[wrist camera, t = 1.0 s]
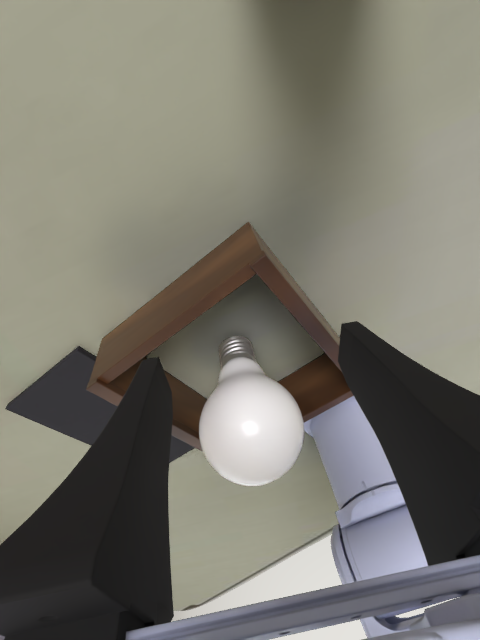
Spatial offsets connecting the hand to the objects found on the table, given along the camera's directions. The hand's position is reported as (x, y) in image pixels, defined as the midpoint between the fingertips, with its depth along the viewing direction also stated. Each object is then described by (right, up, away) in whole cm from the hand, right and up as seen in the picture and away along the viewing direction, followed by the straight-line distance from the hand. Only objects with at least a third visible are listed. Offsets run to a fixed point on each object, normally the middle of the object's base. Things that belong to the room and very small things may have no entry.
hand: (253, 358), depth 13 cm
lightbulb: (-1, 0, +13) cm, 13 cm away
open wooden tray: (-1, 0, +13) cm, 13 cm away
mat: (-11, -7, +17) cm, 21 cm away
